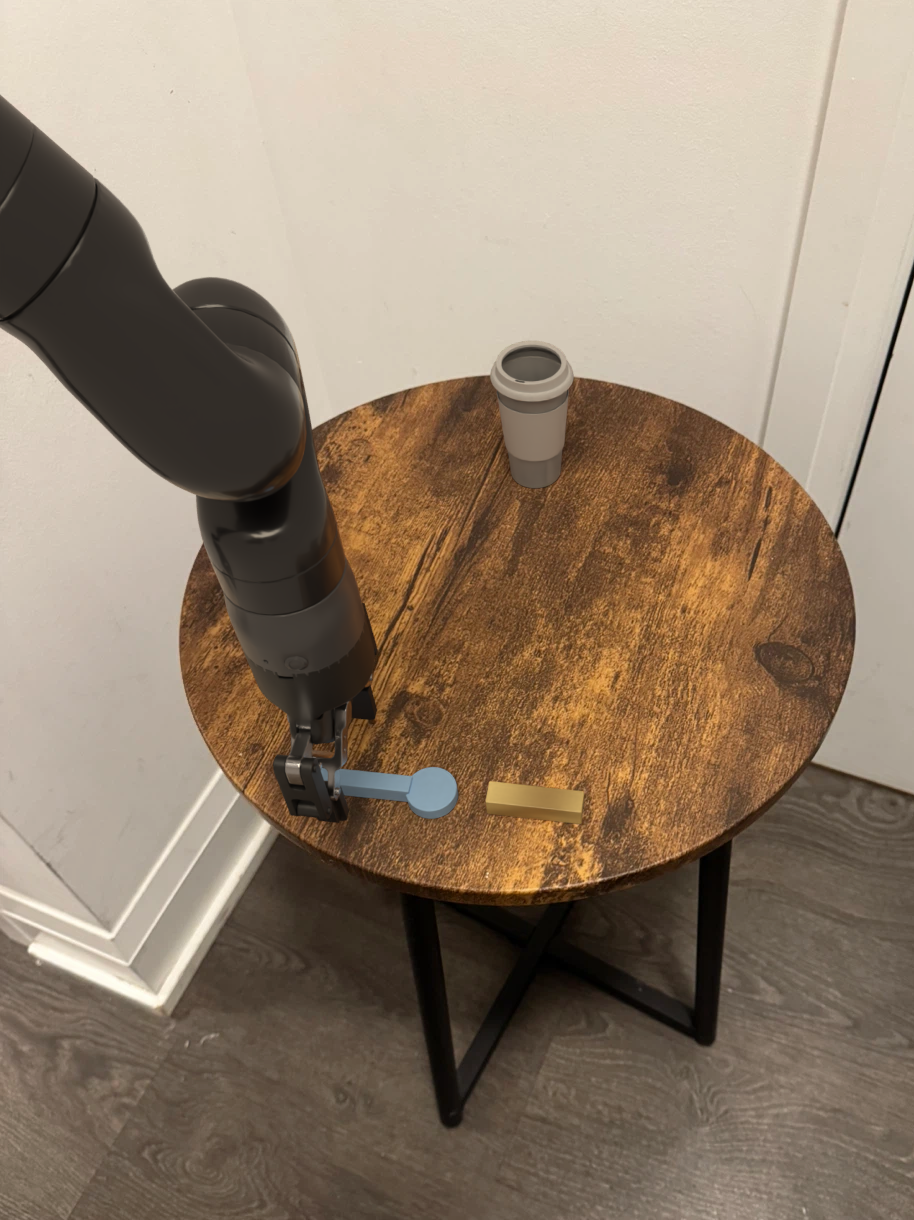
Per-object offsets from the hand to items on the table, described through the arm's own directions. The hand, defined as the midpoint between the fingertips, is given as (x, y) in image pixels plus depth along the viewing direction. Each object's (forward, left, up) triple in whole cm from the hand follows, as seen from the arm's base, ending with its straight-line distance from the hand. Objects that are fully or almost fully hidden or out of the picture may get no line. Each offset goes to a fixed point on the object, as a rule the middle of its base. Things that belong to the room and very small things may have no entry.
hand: (348, 764), depth 75 cm
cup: (+18, +32, -4) cm, 37 cm away
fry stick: (+13, -4, -4) cm, 14 cm away
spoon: (+1, 0, -4) cm, 4 cm away
